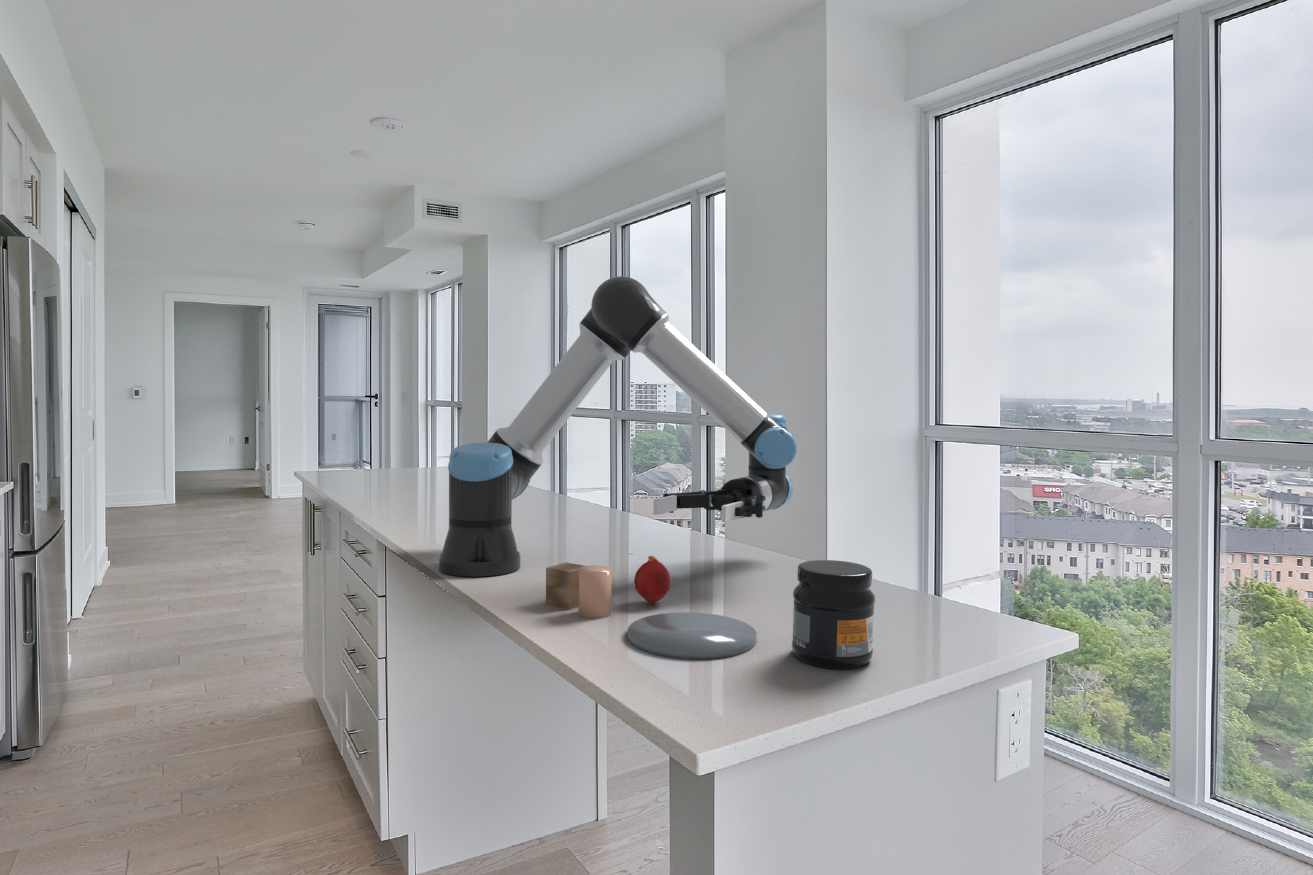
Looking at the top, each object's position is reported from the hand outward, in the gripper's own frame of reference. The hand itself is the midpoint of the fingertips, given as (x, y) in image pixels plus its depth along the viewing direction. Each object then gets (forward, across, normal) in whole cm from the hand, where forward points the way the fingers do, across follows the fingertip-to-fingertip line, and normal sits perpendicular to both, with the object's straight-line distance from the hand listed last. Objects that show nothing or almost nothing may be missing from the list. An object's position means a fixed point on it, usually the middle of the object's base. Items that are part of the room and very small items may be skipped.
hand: (688, 510), depth 135 cm
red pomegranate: (+10, +1, -14) cm, 18 cm away
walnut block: (+18, +12, -14) cm, 26 cm away
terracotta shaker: (+20, +5, -14) cm, 25 cm away
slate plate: (+21, -13, -14) cm, 29 cm away
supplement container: (+17, -32, -15) cm, 39 cm away
